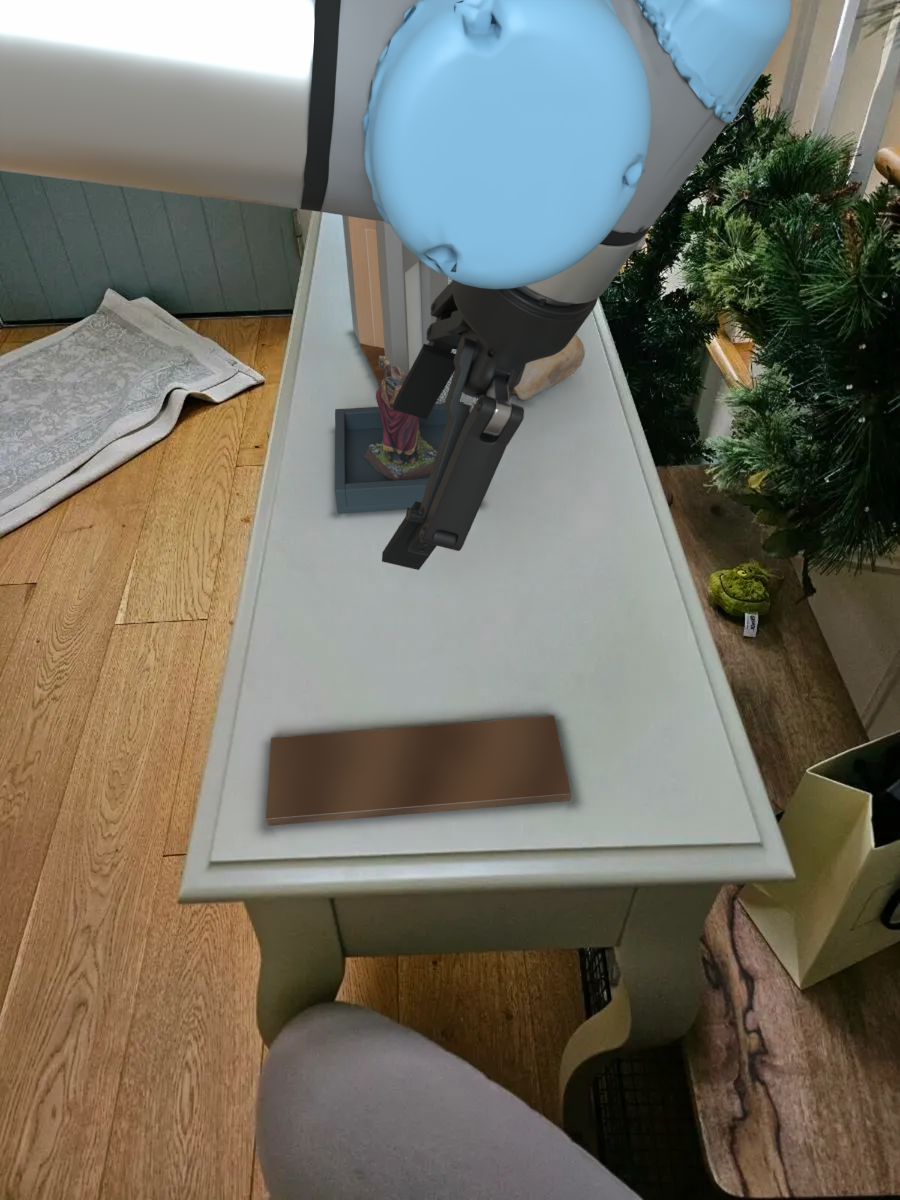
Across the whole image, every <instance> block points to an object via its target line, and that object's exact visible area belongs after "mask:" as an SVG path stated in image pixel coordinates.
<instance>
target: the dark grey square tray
mask: <svg viewBox="0 0 900 1200" xmlns="http://www.w3.org/2000/svg"><path fill="white" fill-rule="evenodd" d="M460 402H461V403H464V404H465V402H464V401H460ZM444 404H445V402H436V403H435V405H434V407H433V409H432V410H431V412H430V414H429V415H428V417H427V419H423V418H420V417H419V428H420V434H419V435H420V437H421V438H423V440H425V441H426V442H427V443H428V444H429V445H430V446H432V448H433V449H434V450H436V451H437V452H438V449H439V446H440V442H441V439H442V436H443V433H444V430H445V427H446V424H447V420H448V417H449V413H448V412H447V410H446V409H445V406H444ZM381 441H383V423H382V418H381V413H380V410H379V406H366V407H365V406H364V407H347V408H335V410H334V495H335V504H336V510H337V514H338V515H341V514H342V515H343V514H355V513H359V514H360V513H373V512H375V513H376V512H390V511H407V508H411V507H412V506H413V504H414V503H415V501H417V502H422V499H423V496H424V493H425V490H426V487H427V483H428V480H429V477H430V474H431V473H429V474H427V475H425V476H422V477H420V478H417V479H414V480H398V481H393V480H392V479H390V478H388V477H387V476H385V475H383V474H382V473H380V472H379V471H378V470H377V469H376V468H375V467H374V466H373V465H372V464H371V463H370V462H369V461H368V460H367V459H366V458H365V456H364V455H365V453H366V451H367V449H368V447H369V445H371V444H377V443H379V442H381Z"/></svg>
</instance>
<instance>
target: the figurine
mask: <svg viewBox="0 0 900 1200" xmlns="http://www.w3.org/2000/svg"><path fill="white" fill-rule="evenodd" d="M379 365H380V367H381V368H382V370H383V371H384V372H385V373H384V375H385V377H384V379H383V380H382V383H381V386H380V387H379V386H378V388H377V390H376V391H375V392H376V393H375V399H376V403H377V407H379V410H380V413H381V418H382V423H383V441H381V442H379V443H377V444H371V445H369V447H368V449H367V451H366V453H365V455H364V456H365V458H366V459H367V460H368V461H369V462H370V463H371V464H372V465H373V466H374V467H375V468H376V469H377V470H378V471H379V472H380V473H382V474H383V475H385V476H387V477H388V478H390V479H392V480H393V481H398V480H414V479H417V478H420V477H422V476H425V475H427V474H429V473H431V471H432V468H433V465H434V461H435V458H436V455H437V451H436V450H434V449H433V448H432V446H430V445H429V444H428V443H427V442H426V441H425V440H423V438H421V437H420V435H419V434H420V428H419V417H416V416H413V415H410V414H406V413H403V412H400V411H396V410H393V403H394V400H395V398H396V397H397V395H398V393H399V391H400V389H401V387H402V385H403V383H404V381H405V379H406V377H407V376H406V373H405V371H404V370H403V369H402V368H400V367H398V366H393V367H392V368H391V366H390V362H389V361H388V359H387V358H386V357H385V356H379Z"/></svg>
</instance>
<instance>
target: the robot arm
mask: <svg viewBox="0 0 900 1200" xmlns="http://www.w3.org/2000/svg"><path fill="white" fill-rule="evenodd" d="M791 1H792V0H0V172H7V173H15V174H21V175H30V176H36V177H37V176H39V177H45V178H53V179H54V178H55V179H62V180H70V181H77V182H85V183H93V184H100V185H101V184H102V185H108V186H114V187H115V186H116V187H123V188H131V189H140V190H148V191H155V192H163V193H170V194H178V195H186V196H194V197H202V198H210V199H218V200H224V201H225V200H226V201H232V202H233V201H234V202H240V203H248V204H257V205H266V206H271V207H281V208H286V209H287V208H288V209H297V210H302V211H303V210H304V211H311V212H319V213H325V214H331V215H339V216H342V215H344V216H350V217H357V218H363V219H369V220H377V221H385V222H386V223H388V224H390V225H391V227H392V228H393V230H394V232H395V233H396V235H397V236H398V237H399V239H400V240H401V241H402V243H403V244H404V245H405V246H406V247H407V248H408V249H409V250H410V251H411V252H412V253H413V254H414V255H416V256H417V257H418V258H419V259H420V260H421V261H422V262H423V263H425V264H426V265H427V266H429V267H430V268H432V269H434V270H435V271H437V272H439V273H441V274H443V275H445V276H447V277H448V279H450V280H451V281H450V282H449V283H448V286H447V287H446V288H445V289H444V290H443V291H442V292H441V293H440V295H439V296H438V297H437V298H436V299H435V300H434V302H433V303H432V305H431V316H434V317H437V319H436V322H434V323H432V324H431V325H430V326H429V328H428V329H427V333H426V334H427V340H428V341H429V343H428V345H427V344H424V345H423V347H422V348H421V350H420V352H419V354H418V356H417V358H416V360H415V362H414V364H413V366H412V368H411V370H410V372H409V373H408V375H407V377H406V379H405V381H404V383H403V385H402V387H401V389H400V391H399V393H398V395H397V397H396V398H395V400H394V403H393V410H396V411H400V412H403V413H406V414H410V415H413V416H416V417H420V418H423V419H427V417H428V415H429V414H430V412H431V410H432V409H433V407H434V405H435V403H438V400H439V398H440V396H441V395H442V394H443V391H444V390H445V388H446V386H448V385H447V384H448V383H449V381H450V379H451V381H450V385H449V387H448V390H447V394H446V397H445V400H444V403H445V404H444V406H445V409H446V410H447V412H448V413H449V417H448V420H447V424H446V427H445V430H444V433H443V436H442V439H441V442H440V446H439V449H438V452H437V455H436V458H435V461H434V465H433V468H432V471H431V474H430V477H429V480H428V483H427V487H426V490H425V493H424V496H423V499H422V502H417V501H415V503H414V504H413V506H412V507H411V508H407V510H406V512H405V516H404V518H403V519H402V521H401V523H400V524H399V525H398V527H397V528H396V531H395V532H394V534H393V535H392V536H391V539H390V540H389V541H388V543H387V544H386V546H385V548H384V549H383V551H382V553H381V563H387V564H391V565H395V566H399V567H404V568H407V569H412V570H416V571H419V570H421V568H422V567H423V565H424V564H425V563H426V562H427V560H428V559H429V557H430V556H431V555H432V553H433V552H434V550H435V549H436V548H437V547H440V548H443V549H447V550H452V551H456V552H460V551H461V550H462V549H463V547H464V544H465V542H466V540H467V538H468V536H469V533H470V531H471V528H472V526H473V523H474V522H475V519H476V517H477V516H478V513H479V510H480V508H481V506H482V504H483V501H484V499H485V496H486V494H487V492H488V489H489V488H490V485H491V484H492V481H493V478H494V476H495V473H496V472H497V469H498V467H499V465H500V462H501V460H502V458H503V456H504V453H505V451H506V449H507V447H508V445H509V444H510V442H511V441H512V439H513V437H514V436H515V434H516V433H517V431H518V429H519V428H520V426H521V424H522V423H523V422H524V417H525V408H524V406H520V405H517V404H514V403H511V397H512V394H513V393H512V392H513V389H514V387H516V386H517V385H518V384H519V383H520V381H521V378H522V375H523V372H524V369H525V365H526V364H527V363H529V362H532V361H535V360H538V359H542V358H546V357H550V356H553V355H555V354H557V353H559V352H560V351H562V350H563V349H564V348H565V347H566V346H567V345H568V344H569V342H570V341H571V339H572V338H573V337H574V335H577V332H578V331H579V330H580V328H581V327H582V326H583V324H584V323H585V321H586V320H587V318H588V317H589V316H590V314H592V312H593V310H594V309H595V307H596V305H597V303H598V299H599V298H600V297H601V296H603V294H604V293H605V292H606V290H607V289H608V287H609V286H610V284H611V283H612V282H613V280H614V279H615V278H616V276H617V275H618V274H619V272H620V271H621V270H622V268H623V267H624V265H625V264H626V262H627V261H628V259H629V258H630V257H631V256H632V254H633V253H634V251H640V250H641V249H642V248H643V247H644V246H645V245H646V236H647V233H648V232H649V230H650V229H651V227H652V226H653V225H654V224H655V223H656V221H657V220H658V219H659V217H660V216H661V214H662V213H663V212H664V211H665V209H666V208H667V207H668V205H669V204H670V202H671V201H672V200H673V198H674V196H676V194H677V193H678V191H679V190H680V188H682V186H683V185H684V183H685V182H686V181H687V179H688V178H689V176H690V175H691V173H693V171H694V169H696V166H697V165H698V164H699V163H700V161H701V160H702V158H703V157H704V156H705V155H706V153H707V152H708V150H709V149H710V148H711V146H712V145H713V143H714V142H715V141H716V139H717V138H718V137H719V135H720V134H721V133H722V132H723V130H724V129H725V127H726V126H727V124H729V123H732V122H733V121H734V119H735V118H736V117H737V116H738V115H739V112H740V108H741V107H742V105H743V103H744V102H745V100H746V99H747V97H748V95H749V94H750V92H751V91H752V89H754V88H753V87H754V86H755V84H756V83H757V82H758V80H759V78H760V77H761V75H762V73H763V72H764V71H765V70H766V68H767V66H768V64H769V62H770V61H771V59H772V56H773V55H774V53H775V51H776V50H777V49H778V46H779V45H780V43H781V42H782V40H783V38H784V37H785V34H786V32H787V30H788V28H789V25H790V21H791V15H792V6H791V5H792V2H791ZM453 350H456V351H455V353H454V352H452V351H453ZM451 377H452V378H451ZM462 394H464V395H466V396H469V397H472V398H475V399H477V400H476V402H475V403H472V404H471V405H470V404H467V403H465V402H464V403H461V402H462V401H461V397H462Z"/></svg>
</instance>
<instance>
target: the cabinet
mask: <svg viewBox="0 0 900 1200" xmlns="http://www.w3.org/2000/svg"><path fill="white" fill-rule="evenodd" d="M341 218H342V227H343V237H344V238H343V239H344V247H345V258H346V268H347V269H346V270H347V278H348V279H347V280H348V289H349V290H348V291H349V299H350V300H349V301H350V309H351V310H350V311H351V318H352V319H351V321H352V330H353V331H352V332H353V336H354V337H355V340H356V342H357V344H358V347H359V349H360V351H361V353H362V355H363V357H364V359H365V361H366V363H367V365H368V367H369V369H370V372H371V374H372V376H373V378H374V380H375V382H376V384H377V386H378V388H379V387H380V386H381V383H382V380H383V379H384V377H385V375H384V373H385V372H384V371H383V370H382V368H381V367H380V365H379V356H385V357H386V358H387V359H388V361H389V362H390V366H391V368H392V367H393V366H398V367H400V368H402V369H403V370H404V371H405V373H406V376H407V375H408V373H409V372H410V370H411V368H412V366H413V364H414V362H415V360H416V358H417V356H418V354H419V352H420V350H421V348H422V347H423V345H424V344H427V345H428V343H429V341H428V340H427V334H426V333H427V329H428V328H429V326H430V325H431V324H432V323H434V322H436V319H437V317H434V316H431V305H432V303H433V302H434V300H435V299H436V298H437V297H438V296H439V295H440V293H441V292H442V291H443V290H444V289H445V288H446V287H447V286H448V285H449V277H447V276H445V275H443V274H441V273H439V272H437V271H435V270H434V269H432V268H430V267H429V266H427V265H426V264H425V263H423V262H422V261H421V260H420V259H419V258H418V257H417V256H416V255H414V254H413V253H412V252H411V251H410V250H409V249H408V248H407V247H406V246H405V245H404V244H403V243H402V241H401V240H400V239H399V237H398V236H397V235H396V233H395V232H394V230H393V228H392V227H391V225H390V224H388V223H386V222H385V221H377V220H369V219H363V218H357V217H350V216H344V215H341Z"/></svg>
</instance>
